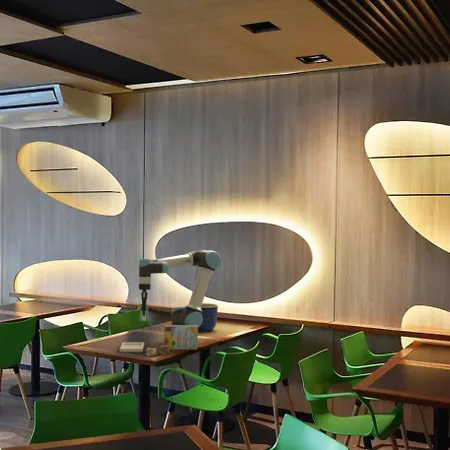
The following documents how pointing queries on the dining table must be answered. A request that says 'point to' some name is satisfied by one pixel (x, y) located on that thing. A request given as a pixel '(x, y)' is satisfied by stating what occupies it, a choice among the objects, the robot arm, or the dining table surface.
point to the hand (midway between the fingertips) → (143, 319)
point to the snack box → (181, 337)
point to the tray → (132, 347)
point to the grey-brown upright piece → (162, 338)
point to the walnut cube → (164, 350)
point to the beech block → (151, 351)
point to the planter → (208, 317)
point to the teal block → (146, 312)
